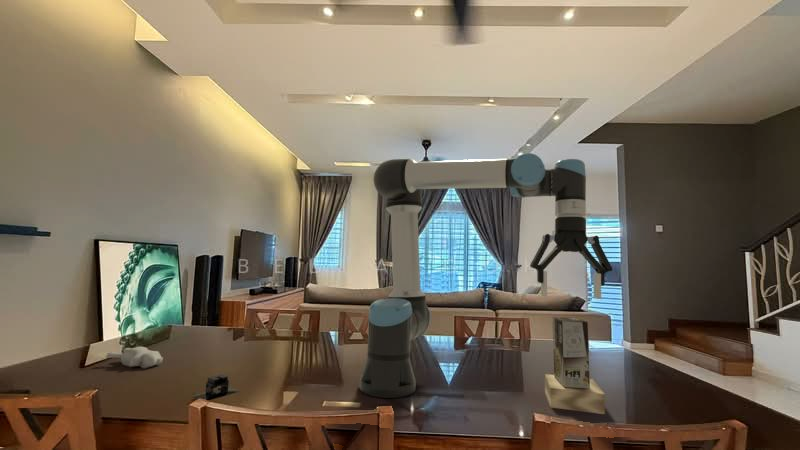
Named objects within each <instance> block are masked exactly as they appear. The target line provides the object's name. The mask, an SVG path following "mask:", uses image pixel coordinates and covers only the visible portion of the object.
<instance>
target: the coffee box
mask: <svg viewBox="0 0 800 450" xmlns="http://www.w3.org/2000/svg"><path fill="white" fill-rule="evenodd" d="M551 318H552V319H551V320H552V345H553V369H554V371H553V375H554V377H555V378H556V379H557V380H558V381H559V382H560V383H561V384H562V385H563V386H564V387H573V388H585V389H589V388H590V379H591V378H590V354H589V351H590V350H589V326H588V325H589V322H588V321H587V320H584V319H581V318H577V317H569V316H568V317H566V316H565V317H564V316H563V317H557V316H556V317H553V316H552V317H551Z"/></svg>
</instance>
